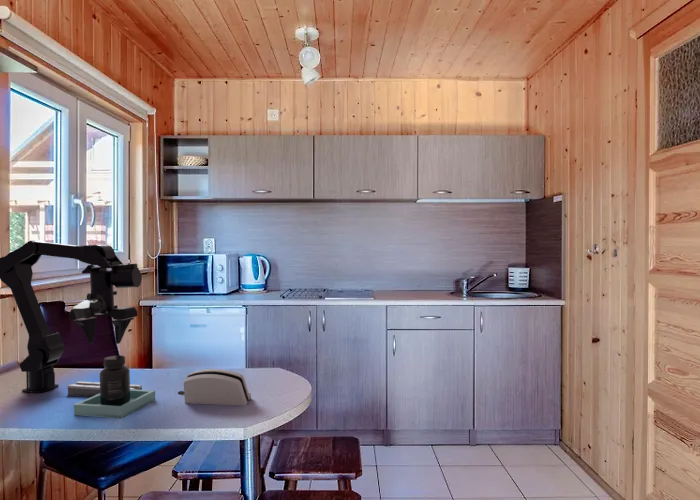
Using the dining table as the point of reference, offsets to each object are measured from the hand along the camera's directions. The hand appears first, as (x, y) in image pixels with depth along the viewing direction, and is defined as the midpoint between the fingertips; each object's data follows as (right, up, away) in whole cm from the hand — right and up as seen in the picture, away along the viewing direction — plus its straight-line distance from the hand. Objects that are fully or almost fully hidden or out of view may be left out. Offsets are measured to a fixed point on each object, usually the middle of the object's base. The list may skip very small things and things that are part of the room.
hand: (104, 343), depth 132 cm
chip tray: (+11, -13, -15) cm, 23 cm away
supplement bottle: (+11, -13, -15) cm, 22 cm away
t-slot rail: (+3, -13, -5) cm, 14 cm away
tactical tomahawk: (+28, -13, +4) cm, 31 cm away
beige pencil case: (+36, -13, -12) cm, 40 cm away
